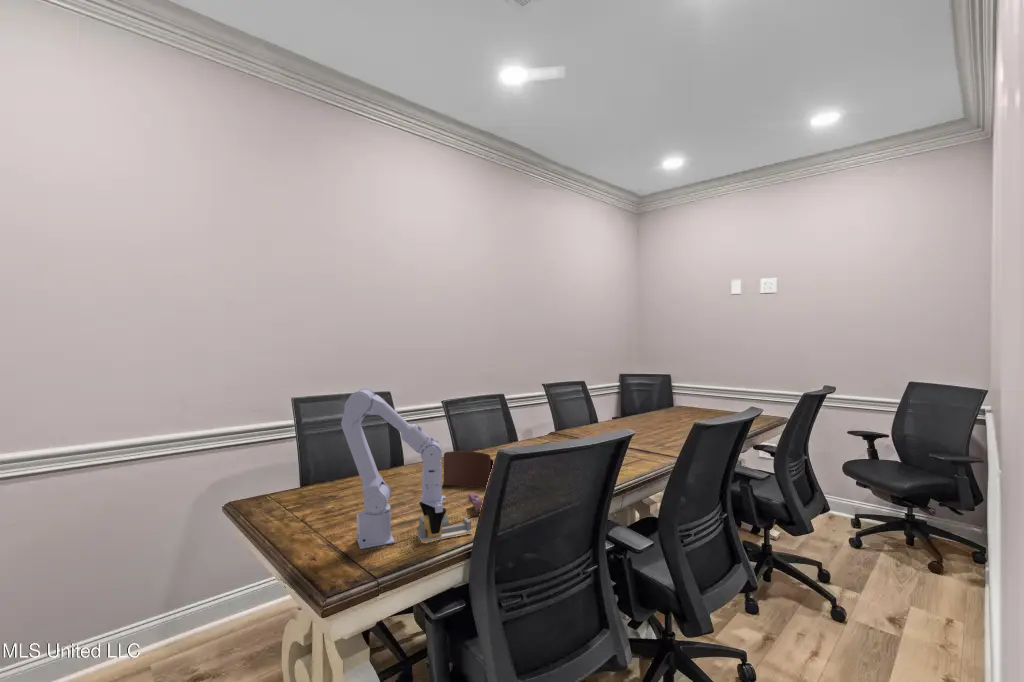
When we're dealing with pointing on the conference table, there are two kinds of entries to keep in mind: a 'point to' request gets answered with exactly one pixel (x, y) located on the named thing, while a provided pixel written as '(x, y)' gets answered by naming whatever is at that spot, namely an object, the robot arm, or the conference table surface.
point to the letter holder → (467, 468)
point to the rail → (446, 531)
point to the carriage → (428, 529)
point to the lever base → (444, 521)
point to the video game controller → (475, 501)
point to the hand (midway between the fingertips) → (432, 529)
